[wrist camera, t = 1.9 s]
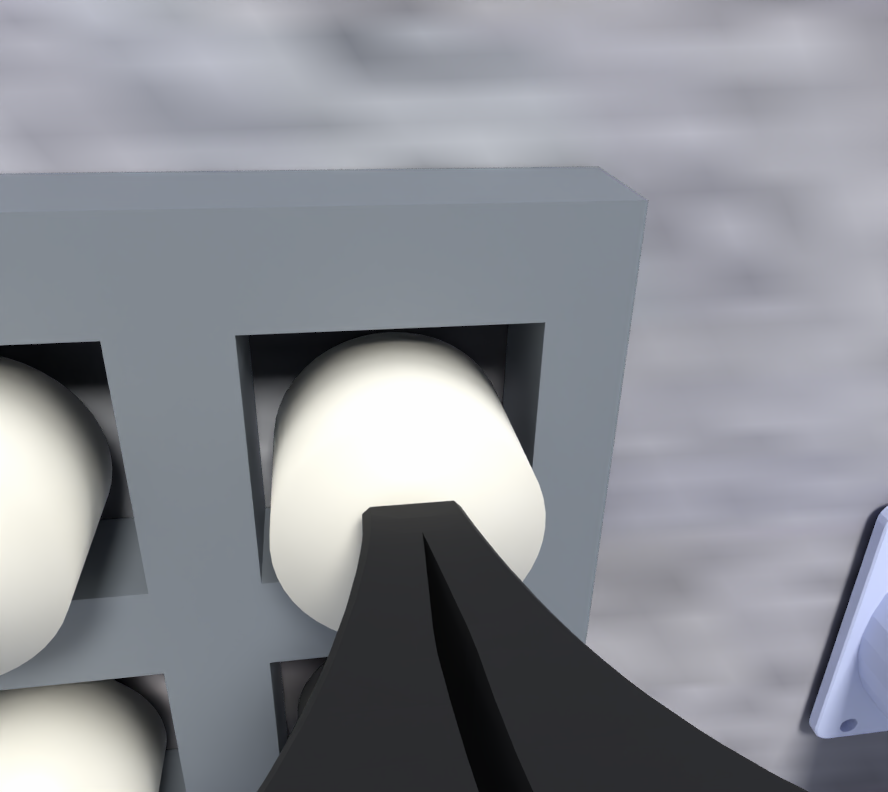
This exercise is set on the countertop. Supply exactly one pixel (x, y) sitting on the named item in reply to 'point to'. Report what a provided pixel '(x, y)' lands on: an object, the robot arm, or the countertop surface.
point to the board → (233, 402)
